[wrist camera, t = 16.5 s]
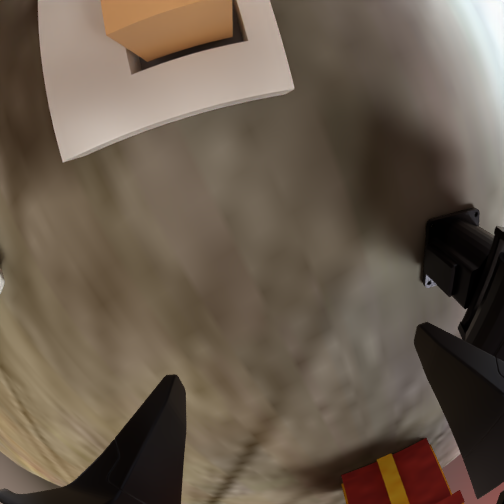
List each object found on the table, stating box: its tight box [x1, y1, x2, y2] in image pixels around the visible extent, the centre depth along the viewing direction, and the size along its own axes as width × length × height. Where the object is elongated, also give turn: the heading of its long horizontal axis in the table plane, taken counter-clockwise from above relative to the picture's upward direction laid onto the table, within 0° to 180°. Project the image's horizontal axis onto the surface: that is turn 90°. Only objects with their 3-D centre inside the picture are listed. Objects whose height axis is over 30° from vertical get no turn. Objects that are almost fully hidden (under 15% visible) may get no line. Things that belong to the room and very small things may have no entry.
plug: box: [101, 0, 233, 62], centre depth 10 cm, size 5×5×8 cm
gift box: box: [341, 438, 464, 504], centre depth 36 cm, size 25×25×20 cm
